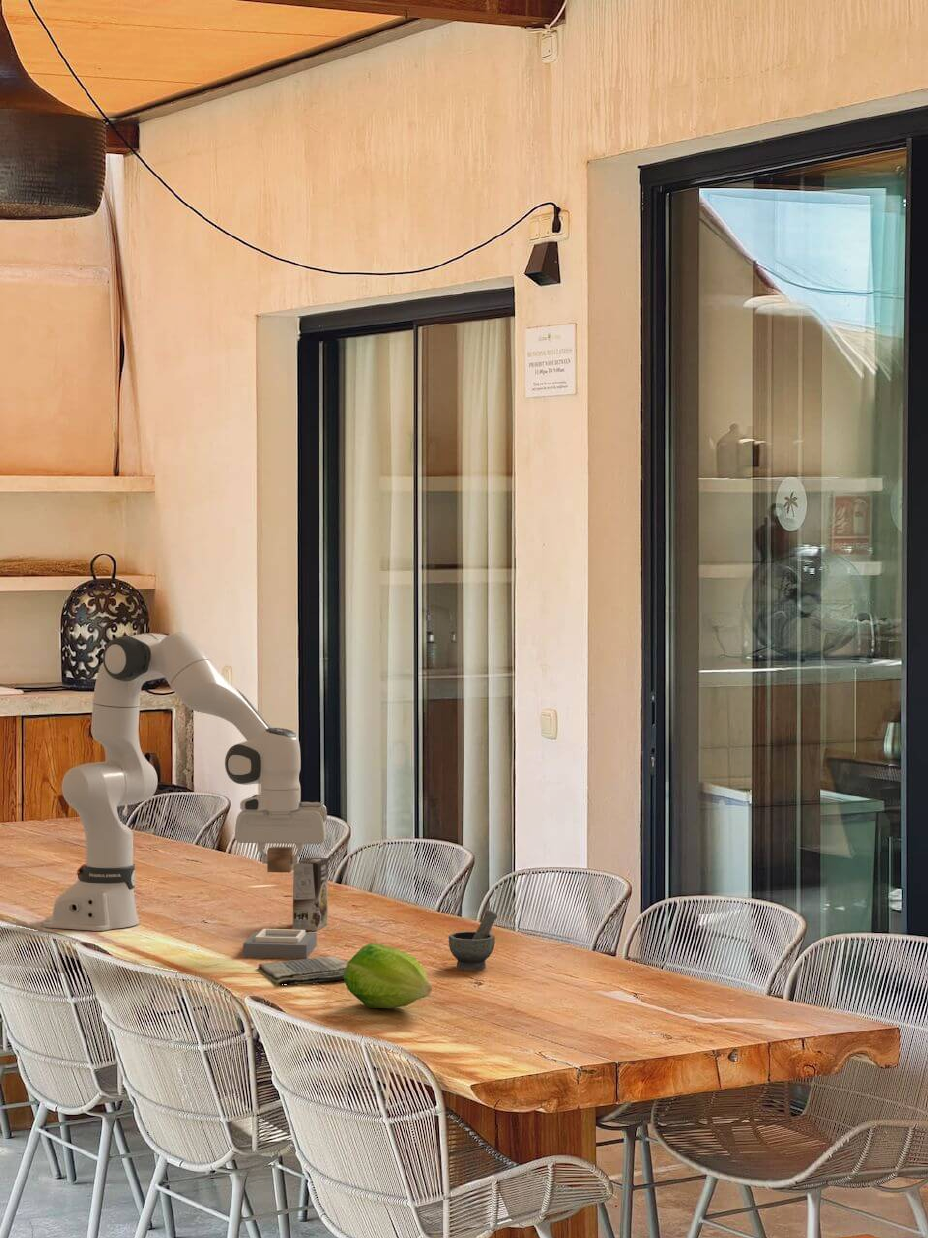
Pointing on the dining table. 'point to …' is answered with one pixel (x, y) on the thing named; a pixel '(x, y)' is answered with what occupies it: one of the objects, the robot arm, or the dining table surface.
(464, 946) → the mortar and pestle
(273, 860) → the walnut block
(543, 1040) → the dining table surface
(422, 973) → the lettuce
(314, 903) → the coffee box
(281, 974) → the dish towel
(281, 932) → the plinth
